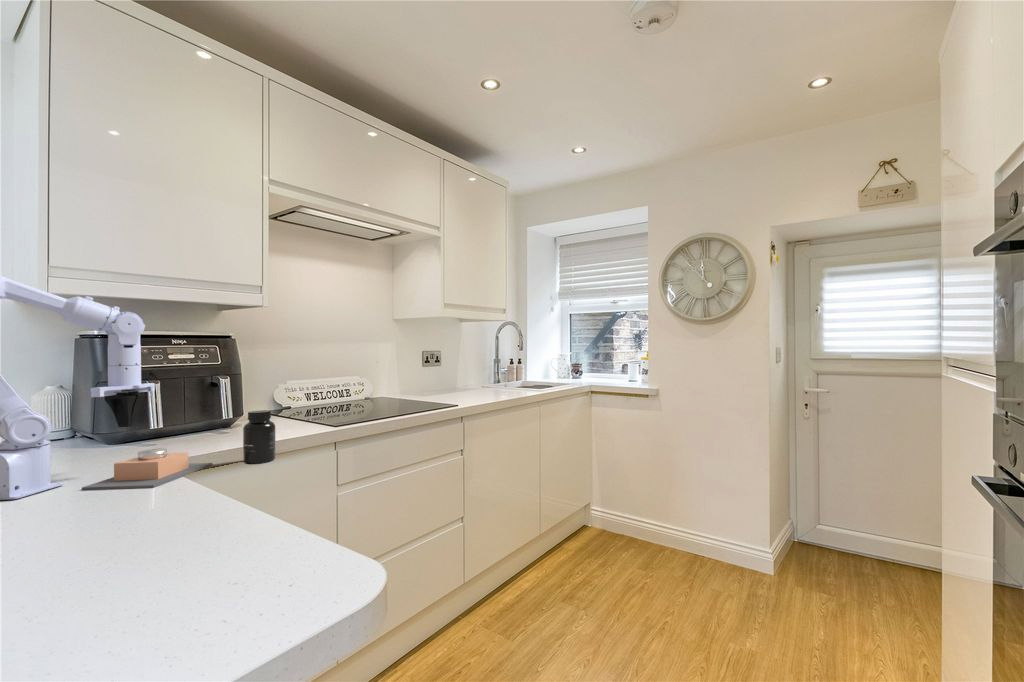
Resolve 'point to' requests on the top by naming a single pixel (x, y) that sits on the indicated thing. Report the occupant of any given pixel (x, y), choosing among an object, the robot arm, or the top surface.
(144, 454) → the plunger
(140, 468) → the tan rectangular brick
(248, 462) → the supplement bottle
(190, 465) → the mat
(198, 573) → the top surface
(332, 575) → the top surface
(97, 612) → the top surface
